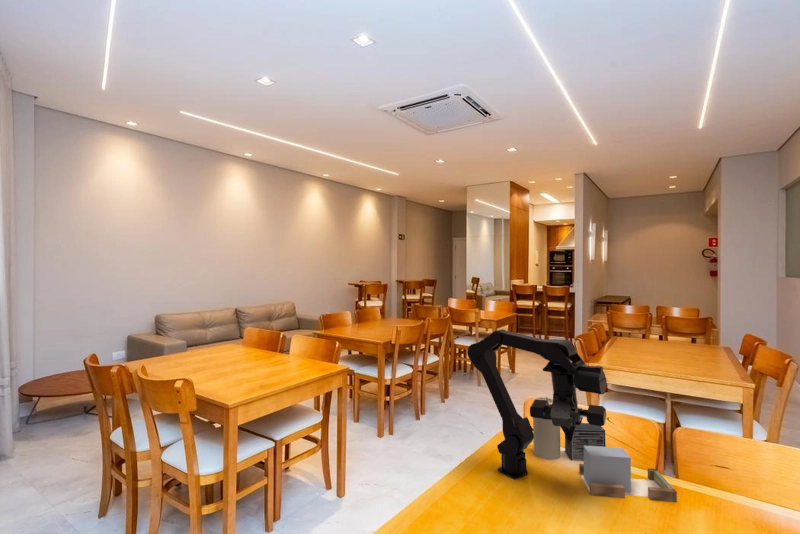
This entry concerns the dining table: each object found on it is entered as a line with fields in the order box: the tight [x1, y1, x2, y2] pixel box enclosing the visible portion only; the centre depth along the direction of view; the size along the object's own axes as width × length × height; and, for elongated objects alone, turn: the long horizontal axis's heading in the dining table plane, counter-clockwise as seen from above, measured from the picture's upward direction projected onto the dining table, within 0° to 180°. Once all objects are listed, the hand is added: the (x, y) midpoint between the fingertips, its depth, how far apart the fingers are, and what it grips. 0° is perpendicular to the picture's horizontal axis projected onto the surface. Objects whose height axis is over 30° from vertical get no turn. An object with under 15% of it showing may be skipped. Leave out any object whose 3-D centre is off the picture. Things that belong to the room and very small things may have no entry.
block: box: [583, 446, 632, 492], centre depth 112 cm, size 10×6×9 cm, turn 80°
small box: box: [564, 422, 607, 462], centre depth 129 cm, size 11×6×10 cm, turn 84°
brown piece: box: [578, 463, 678, 503], centre depth 111 cm, size 20×22×4 cm
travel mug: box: [532, 395, 561, 461], centre depth 131 cm, size 8×8×18 cm
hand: (570, 440), depth 114 cm, fingers closed
